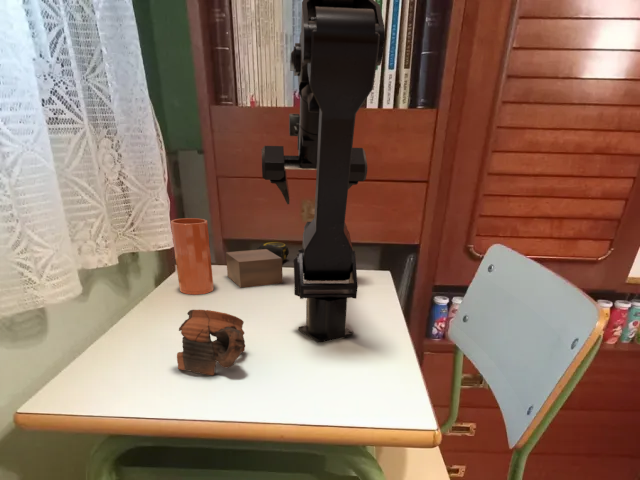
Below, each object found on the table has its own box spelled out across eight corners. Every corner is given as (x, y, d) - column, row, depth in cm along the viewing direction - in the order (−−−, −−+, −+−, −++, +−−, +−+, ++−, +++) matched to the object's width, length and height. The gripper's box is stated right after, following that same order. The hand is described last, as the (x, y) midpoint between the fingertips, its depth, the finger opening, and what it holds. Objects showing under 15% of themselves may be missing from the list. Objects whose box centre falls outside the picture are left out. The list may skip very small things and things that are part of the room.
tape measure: (254, 262, 113) (253, 246, 111) (266, 256, 119) (265, 240, 117) (281, 265, 111) (281, 248, 109) (292, 259, 117) (292, 243, 115)
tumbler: (218, 291, 93) (212, 222, 87) (186, 296, 90) (177, 225, 84) (206, 283, 98) (199, 217, 91) (175, 287, 95) (166, 219, 88)
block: (282, 283, 99) (282, 258, 96) (240, 287, 96) (239, 262, 93) (267, 272, 106) (266, 249, 103) (227, 276, 102) (225, 252, 100)
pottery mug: (159, 367, 65) (168, 306, 64) (218, 378, 72) (226, 323, 71) (209, 373, 57) (220, 303, 56) (270, 385, 64) (279, 323, 63)
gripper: (366, 95, 84) (355, 175, 98) (259, 92, 82) (263, 174, 96) (374, 137, 79) (360, 214, 93) (260, 134, 78) (264, 213, 92)
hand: (311, 203), depth 94 cm, fingers open, 9 cm apart
